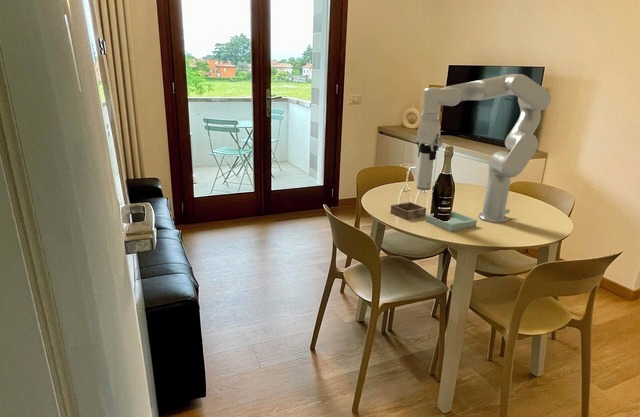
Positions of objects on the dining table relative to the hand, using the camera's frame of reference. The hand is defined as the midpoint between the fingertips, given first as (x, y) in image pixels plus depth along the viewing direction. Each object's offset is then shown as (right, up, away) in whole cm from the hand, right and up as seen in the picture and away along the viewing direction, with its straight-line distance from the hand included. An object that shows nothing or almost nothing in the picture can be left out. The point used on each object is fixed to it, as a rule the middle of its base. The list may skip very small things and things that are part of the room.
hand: (426, 158), depth 188 cm
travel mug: (0, -14, +4) cm, 14 cm away
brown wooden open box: (-6, -25, +11) cm, 29 cm away
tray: (+11, -29, +1) cm, 31 cm away
